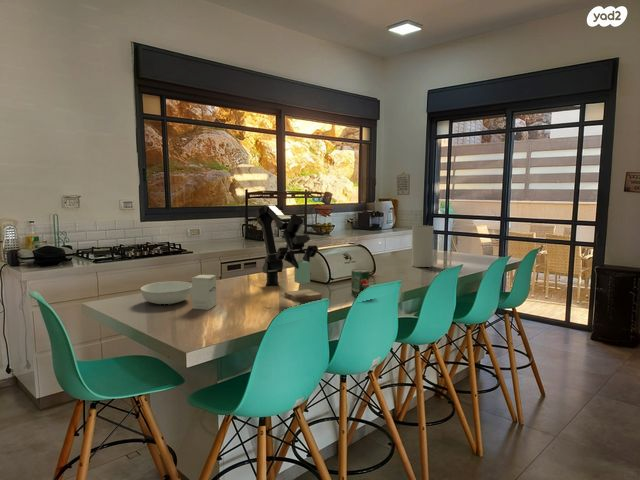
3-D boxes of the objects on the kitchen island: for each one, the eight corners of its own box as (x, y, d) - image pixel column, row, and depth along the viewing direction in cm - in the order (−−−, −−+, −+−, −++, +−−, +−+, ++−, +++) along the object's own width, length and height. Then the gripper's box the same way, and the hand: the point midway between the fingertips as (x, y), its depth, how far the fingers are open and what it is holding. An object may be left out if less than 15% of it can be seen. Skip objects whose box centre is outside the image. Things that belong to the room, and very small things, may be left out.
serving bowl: (129, 305, 182) (129, 289, 182) (165, 294, 202) (164, 279, 201) (171, 310, 175) (170, 293, 174) (203, 298, 194) (203, 283, 193)
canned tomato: (352, 292, 206) (352, 268, 205) (369, 292, 205) (369, 269, 204) (350, 295, 199) (350, 271, 198) (368, 296, 197) (368, 272, 196)
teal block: (294, 281, 196) (294, 261, 195) (304, 280, 198) (304, 260, 197) (299, 283, 191) (299, 263, 190) (310, 282, 194) (309, 262, 193)
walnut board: (284, 297, 198) (284, 292, 198) (308, 294, 204) (308, 289, 204) (297, 303, 188) (297, 297, 187) (321, 299, 194) (321, 294, 194)
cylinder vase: (431, 268, 269) (432, 227, 267) (410, 267, 274) (410, 226, 271) (433, 265, 281) (434, 225, 278) (413, 264, 285) (414, 225, 283)
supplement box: (209, 309, 175) (208, 278, 174) (191, 309, 177) (190, 277, 176) (217, 305, 183) (216, 274, 181) (200, 304, 184) (199, 274, 183)
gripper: (278, 228, 191) (289, 257, 183) (316, 227, 200) (329, 254, 192) (271, 245, 199) (281, 273, 190) (307, 242, 208) (319, 269, 200)
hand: (303, 267), depth 193 cm, fingers closed on teal block, 5 cm apart
